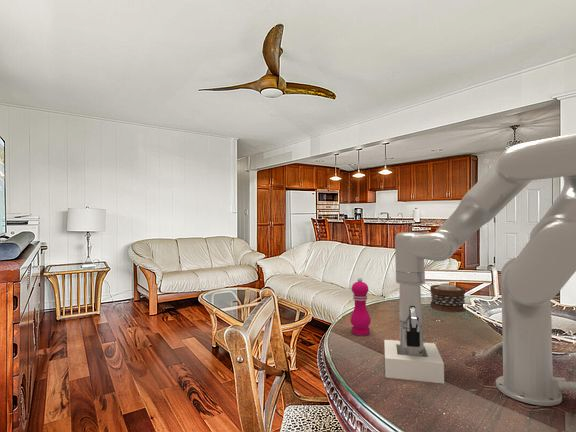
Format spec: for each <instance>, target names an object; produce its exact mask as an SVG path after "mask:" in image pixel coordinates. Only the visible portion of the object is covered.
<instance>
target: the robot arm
mask: <svg viewBox="0 0 576 432" xmlns="http://www.w3.org/2000/svg"><path fill="white" fill-rule="evenodd" d="M554 178H555V179H556V178H563V187H562V188H561V191H560V193H559V194H558V196H557V198H556V199H555V200H554V202H553V204H552V205H551V206H550V208H549V209H548V210H547V211H546V212H545V214H544V215H543V217H541V219H540V221H538V222H537V224H536V225H534V227H533V228H532V230H531V232H530V235H529V241H527V243H526V244H525V245H524V247H523V248H522V249H521V250H520V252H519V254H518V255H517V256H516V257H513V258H511V259H509V260H507V262H505V264H504V265H503V266H502V268H501V270H500V276H499V277H500V289H501V291H500V294H501V296H500V297H501V321H502V322H501V323H502V324H501V326H502V329H501V330H502V331H501V332H502V333H501V334H502V338H501V339H502V375H500V376H499V377H497V378H496V380H495V387H496V388H497V389H498V391H500V392H501V393H502V394H504V395H505V396H507V397H509V398H511V399H513V400H515V401H518V402H522V403H526V404H528V405H529V404H530V405H534V406H540V407H543V406H544V407H549V406H551V407H552V406H556V405H559V404H561V403H562V402H563V395H562V392H563V391H569V392H576V381H567V379H566V378H565V377H559V376H558V377H557V376H554V375H553V374H554V373H553V342H552V341H553V337H552V336H553V334H552V329H553V328H552V327H553V326H552V325H553V324H552V323H553V322H552V306H551V300H553V299H554V298H555V297H556V296H557V295H558V293H559V292H560V291H561V290H562V289H563V288H564V286H566V284H567V283H568V282H569V280H570V279H571V278H572V276H573V275H574V274H575V273H576V132H574V133H569V134H563V135H559V136H558V135H557V136H553V137H548V138H542V139H536V140H531V141H530V140H529V141H525V142H520V143H516V144H513V145H511V146H509V147H507V148H506V149H505V150H504V151H502V153H501V154H500V156H499V157H498V160H497V161H496V162H495V163H494V164H493V165H492V166H491V167H490V169H488V171H487V172H486V173H485V174H484V175H483V176H482V177H481V178H480V179H479V180H478V181H477V182H476V183H475V184H474V185H473V186H472V187H471V188H470V189H469V190H468V191H467V192H466V193H465V194H464V195H463V197H462V199H461V201H460V203H458V206H457V207H456V209H455V210H454V211H453V212H452V214H451V215H450V216H449V217H448V218H447V219H446V220H445V221H444V222H443V223H442V224H441V225H440V226H439V227H438V228H437V229H436V231H434V232H428V233H421V232H415V231H414V232H413V231H409V232H406V231H405V232H398V233H396V235H395V237H394V251H395V252H394V253H395V255H394V256H395V262H394V263H395V283H396V284H399V291H398V292H399V315H400V316H401V320H402V321H403V322H404V320H407V329H408V330H406V334H407V346H410V347H420V331H419V324H418V322H420V321H421V315H422V297H421V296H422V293H421V292H422V291H421V289H422V288H421V285H425V284H426V276H425V275H426V273H425V272H426V271H425V267H426V266H425V260H427V261H433V262H443V261H447V260H449V259H450V258H451V257H452V256H453V254H455V253H456V252H457V250H459V248H461V247H462V246H463V245H464V244H465V243H466V242H467V241H468V240H469V239H470V238H471V237H473V235H474V234H476V232H477V231H478V230H479V229H481V228H482V227H483V226H484V225H486V224H488V223H489V222H490V221H492V220H493V219H494V218H495V217H496V216H497V215H498V214H499V213H501V211H502V210H503V209H504V208H505V207H507V205H508V204H509V203H510V202H511V201H513V199H514V198H516V197H517V196H518V194H520V193H521V192H522V191H523V190H524V189H526V187H527V186H528V185H529V184H530V183H531V182H532V181H538V180H546V179H547V180H548V179H554ZM409 307H410V308H409ZM418 317H419V318H418ZM408 318H411V319H408ZM409 323H410V324H409Z"/></svg>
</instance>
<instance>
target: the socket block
mask: <svg viewBox="0 0 576 432" xmlns="http://www.w3.org/2000/svg"><path fill="white" fill-rule="evenodd" d="M383 342H384V343H383V344H384V347H383V348H384V368H385V369H384V372H385V373H384V374H385V378H387V379H393V380H394V379H396V380H403V381H404V380H406V381H413V382H414V381H416V382H424V383H436V384H443V385H444V384H445V363H444V361H443V358H442V356H441V355H440V352H439V350H438V347H437V345H436V343H434V342H423V347H424V357H420V356H409V355H400V340H393V339H383Z"/></svg>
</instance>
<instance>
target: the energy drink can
mask: <svg viewBox="0 0 576 432" xmlns="http://www.w3.org/2000/svg"><path fill="white" fill-rule="evenodd" d="M409 308H410V307H409ZM398 318H399V319H398V321H399V341H400V355H409V356H420V357H424V347H423V343H424V321H423V320H424V319H423V318H424V317H423V315H422V314H421V321H420V322H418V324H419V331H420V347H410V346H407V334H406V330H408V329H407V320H404V322H403V321H402V320H401V316H400V314H399V315H398ZM418 318H419V317H418ZM408 319H411V318H408ZM409 324H410V323H409Z"/></svg>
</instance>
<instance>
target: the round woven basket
mask: <svg viewBox="0 0 576 432" xmlns="http://www.w3.org/2000/svg"><path fill="white" fill-rule="evenodd" d="M465 294H466V288H465V287H463V286H460V285H456V284H453V283H440V284H433V285H431V286H430V297H431V298H430V299H431V301H430V308H431V309H433V310H435V311H439V312H444V313H463V312H465V311H466V310H465V309H464V308H463V304H465V305H466V295H465Z"/></svg>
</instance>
